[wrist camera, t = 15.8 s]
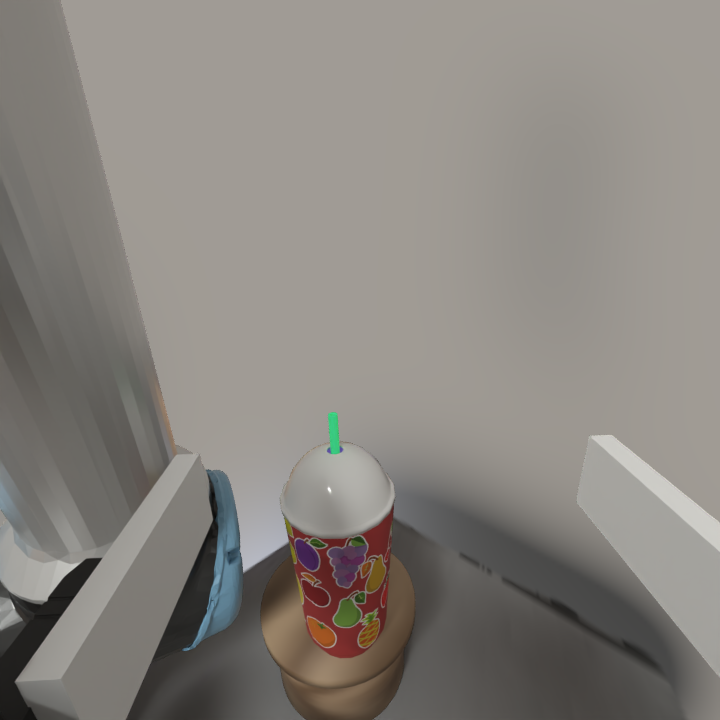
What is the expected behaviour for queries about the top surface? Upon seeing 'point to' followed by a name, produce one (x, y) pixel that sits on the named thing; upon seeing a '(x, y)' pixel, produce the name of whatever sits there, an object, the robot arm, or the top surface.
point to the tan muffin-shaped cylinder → (328, 673)
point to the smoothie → (340, 543)
